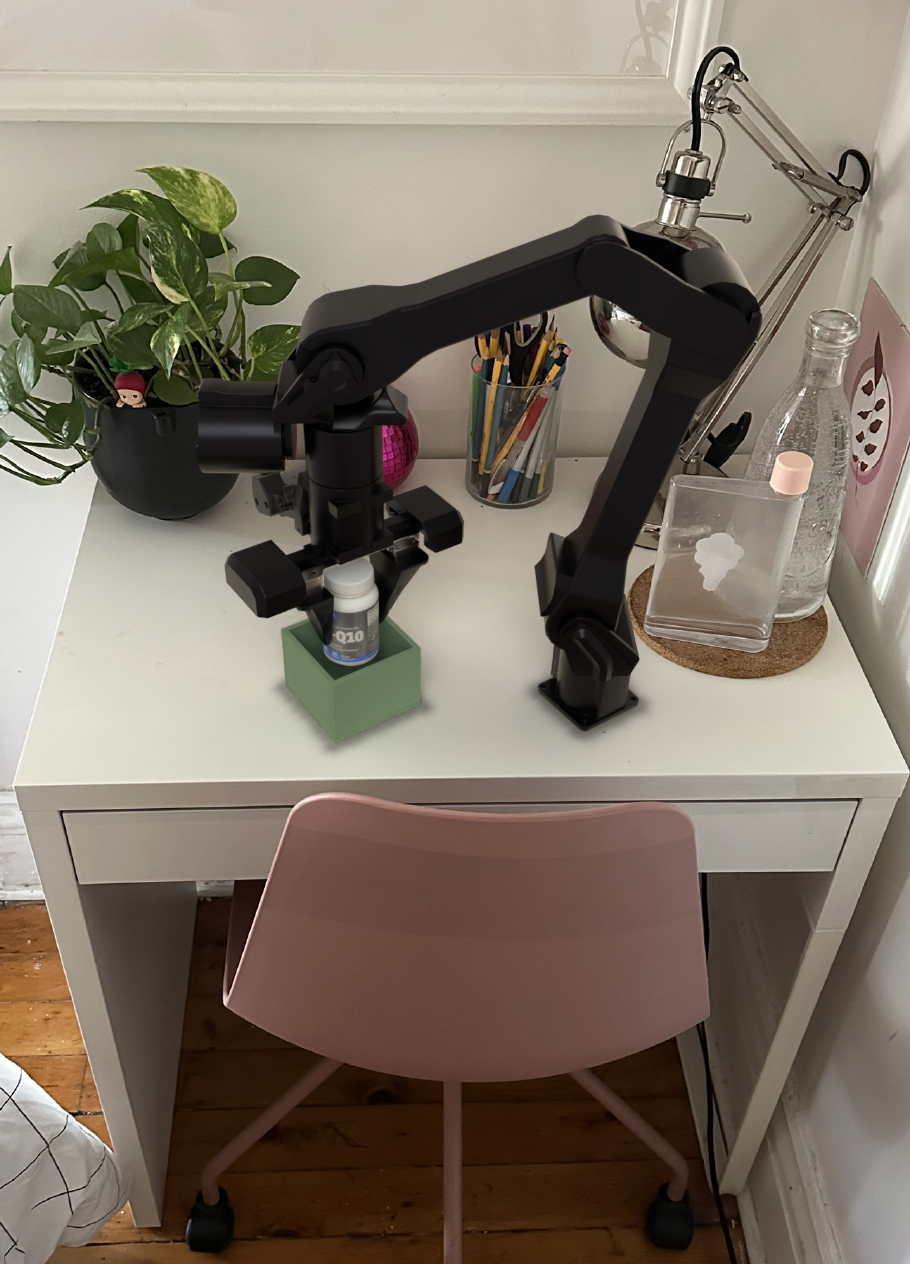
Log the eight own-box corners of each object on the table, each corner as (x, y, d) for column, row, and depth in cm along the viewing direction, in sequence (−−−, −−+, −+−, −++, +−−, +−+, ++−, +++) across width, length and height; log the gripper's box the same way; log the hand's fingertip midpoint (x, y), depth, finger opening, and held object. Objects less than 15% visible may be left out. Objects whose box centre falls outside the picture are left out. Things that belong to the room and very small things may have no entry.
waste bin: (420, 705, 99) (421, 647, 94) (335, 743, 95) (332, 685, 91) (368, 651, 104) (366, 594, 100) (285, 686, 100) (280, 628, 96)
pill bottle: (314, 660, 95) (309, 579, 89) (335, 626, 98) (331, 546, 93) (368, 673, 94) (366, 591, 88) (387, 638, 97) (386, 558, 92)
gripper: (391, 393, 94) (393, 548, 104) (181, 457, 85) (205, 619, 95) (471, 452, 87) (464, 612, 97) (251, 527, 79) (268, 695, 88)
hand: (351, 631), depth 95 cm, fingers closed on pill bottle, 5 cm apart
